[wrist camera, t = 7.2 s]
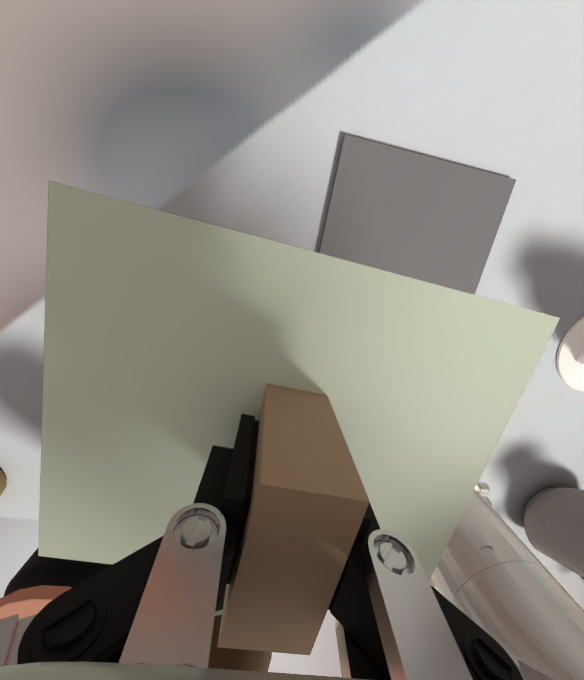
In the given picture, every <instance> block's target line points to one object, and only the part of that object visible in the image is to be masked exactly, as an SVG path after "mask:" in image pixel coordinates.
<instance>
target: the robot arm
mask: <svg viewBox="0 0 584 680" xmlns="http://www.w3.org/2000/svg"><path fill="white" fill-rule="evenodd" d="M258 428H259V421H257V420H255V416H251V415H246V414H241V418H240V423H239V427H238V431H237V436H236V440H235V445H234V449H233V448H227V447H221V446H215V445H213V446H212V449H211V452H210V455H209V458H208V461H207V464H206V467H205V470H204V473H203V476H202V479H201V482H200V485H199V488H198V491H197V493H196V496H195V499H194V502H193V504H190V505H187V506H185V507H183V508H181V509H179V510H178V511H177V512H176V513H175V514H174V515H173V516H172V518H171V519H170V521H169V523H168V525H167V528H166V531H165V534H164V535H163V536H162V537H160V538H158V539H156V540H155V541H153V542H151V543H149V544H148V545H146V546H144V547H142V548H141V549H139V550H137V551H135V552H134V553H132V554H130V555H128V556H127V557H125V558H123V559H122V560H120V561H118V562H116V563H115V564H113V565H111V566H109V567H108V568H106V569H104V570H102V571H101V572H99V573H97V574H95V575H94V576H92V577H90V578H88V579H87V580H85V581H83V582H81V583H80V584H78V585H76V586H74V587H73V588H71V589H69V590H67V591H66V592H64V593H62V594H61V595H59V596H58V597H56V598H55V599H54V600H52V601H51V602H49V603H48V604H47V605H46V606H45V607H44V608H43V609H42V610H41V611H40V612H39V613H38V614H35V615H32V616H28V617H25V618H22V619H19V614H16V615H13V616H9V617H6V618H3V619H0V680H584V610H583V609H582V608H581V607H580V606H579V605H578V604H577V603H576V602H575V600H574V599H573V598H572V597H571V596H570V595H569V594H568V593H567V591H566V590H565V589H564V588H563V587H562V586H561V585H560V584H559V583H558V581H557V580H556V579H555V578H554V577H553V576H552V575H551V574H550V572H549V571H548V570H547V569H546V568H545V567H544V566H543V565H542V563H541V562H540V561H539V560H538V559H537V558H536V557H535V556H534V554H533V553H532V552H531V551H530V550H529V549H528V548H527V547H526V545H525V544H524V543H523V542H522V541H521V540H520V539H519V538H518V536H517V535H516V534H515V533H514V532H513V531H512V530H511V529H510V527H509V526H508V525H507V524H506V523H505V522H504V521H503V520H502V518H501V517H500V516H499V515H498V514H497V513H496V512H495V511H494V509H493V508H492V503H491V501H490V499H489V498H488V497H485V496H481V495H480V494H479V493H482V494H488V493H489V486H488V485H487V484H486V483H482V482H478V484H477V486H476V488H475V490H474V492H473V494H472V496H471V498H470V500H469V502H468V504H467V506H466V508H465V510H464V512H463V514H462V516H461V518H460V520H459V522H458V524H457V526H456V528H455V530H454V532H453V534H452V536H451V538H450V540H449V542H448V544H447V546H446V548H445V550H444V552H443V554H442V556H441V558H440V560H439V562H438V564H437V566H436V568H435V570H434V572H433V574H432V576H431V578H432V580H433V581H434V584H435V586H436V588H437V590H438V591H437V590H436V589H435V588H433V587H432V586H431V585H430V584H429V581H428V579H427V577H426V574H425V572H424V570H423V568H422V566H421V563H420V561H419V559H418V557H417V555H416V554H415V552H414V550H413V549H412V548H411V547H410V545H409V544H408V543H407V542H406V541H405V540H403V539H402V538H401V537H400V536H398V535H396V534H395V533H393V532H390V531H387V530H381V529H380V527H379V524H378V522H377V519H376V516H375V514H374V511H373V509H372V506H371V504H370V502H369V505H368V507H367V510H366V512H365V515H364V518H363V520H362V523H361V525H360V528H359V530H358V533H357V536H356V538H355V541H354V543H353V546H352V548H351V551H350V553H349V556H348V559H347V561H346V564H345V566H344V569H343V571H342V574H341V577H340V579H339V582H338V584H337V587H336V589H335V592H334V594H333V597H332V600H331V602H330V605H329V607H328V610H330V612H331V614H332V615H333V616H334V617H335V618H336V635H337V642H338V650H339V658H340V665H341V672H342V678H340V677H326V676H313V675H300V674H286V673H271V672H258V671H243V670H228V669H214V668H208V662H209V654H210V647H211V639H212V632H213V624H214V617H215V609H216V606H217V605H218V604H219V603H220V602H221V601H222V599H223V595H224V591H225V587H226V584H230V582H231V578H232V574H233V570H234V566H235V563H236V559H237V555H238V551H239V547H240V543H241V540H242V536H243V532H244V528H245V524H246V520H247V517H248V513H249V509H250V504H251V498H252V490H253V480H254V470H255V459H256V449H257V438H258Z"/></svg>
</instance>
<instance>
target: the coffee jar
mask: <svg viewBox="0 0 584 680" xmlns="http://www.w3.org/2000/svg"><path fill="white" fill-rule="evenodd" d="M111 565H112V564H103V563H95V562H86V561H77V560H69V559H60V558H51V557H43V556H38V549H37V550H36V551H35V552H34V553H33V555H32V556H31V557H30V558H29V559H28V561H27V562H26V563H25V564H24V565H23V567H22V568H21V569H20V570H19V571H18V573H17V574H16V575H15V576H14V578H13V579H12V580H11V581H10V583H9V585H8V586H7V589H6V591H5V594H4V597H2V598H0V619H3V618H6V617H9V616H13V615H16V614H19V619H22V618H25V617H28V616H32V615H35V614H38V613H39V612H40V611H41V610H42V609H43V608H44V607H45V606H46V605H47V604H48V603H49V602H51V601H52V600H54V599H55V598H56V597H58V596H59V595H61V594H62V593H64V592H66V591H67V590H69V589H71V588H73V587H74V586H76V585H78V584H80V583H81V582H83V581H85V580H87V579H88V578H90V577H92V576H94V575H95V574H97V573H99V572H101V571H102V570H104V569H106V568H108V567H109V566H111Z"/></svg>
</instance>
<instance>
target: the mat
mask: <svg viewBox="0 0 584 680" xmlns="http://www.w3.org/2000/svg"><path fill="white" fill-rule="evenodd" d="M515 182H516V180H515V179H512V178H508V177H504V176H500V175H497V174H493V173H489V172H485V171H482V170H478V169H474V168H470V167H467V166H463V165H459V164H455V163H451V162H448V161H444V160H440V159H436V158H433V157H429V156H425V155H421V154H418V153H414V152H410V151H406V150H403V149H399V148H395V147H391V146H388V145H384V144H380V143H376V142H372V141H369V140H365V139H361V138H357V137H354V136H350V135H346V134H345V135H344V138H343V142H342V147H341V152H340V156H339V161H338V166H337V170H336V175H335V180H334V184H333V189H332V194H331V198H330V203H329V208H328V212H327V217H326V222H325V226H324V231H323V236H322V240H321V245H320V250H319V253H320V254H324V255H328V256H332V257H335V258H339V259H343V260H347V261H350V262H354V263H358V264H361V265H365V266H369V267H373V268H376V269H380V270H384V271H387V272H391V273H395V274H399V275H402V276H406V277H410V278H414V279H417V280H421V281H425V282H428V283H432V284H436V285H440V286H443V287H447V288H451V289H454V290H458V291H462V292H466V293H469V294H473V295H474V294H475V292H476V289H477V286H478V283H479V281H480V278H481V275H482V272H483V270H484V267H485V264H486V261H487V259H488V256H489V253H490V250H491V248H492V245H493V242H494V239H495V237H496V234H497V231H498V228H499V226H500V223H501V220H502V217H503V215H504V212H505V209H506V206H507V204H508V201H509V198H510V195H511V193H512V190H513V187H514V184H515Z"/></svg>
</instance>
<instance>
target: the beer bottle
mask: <svg viewBox="0 0 584 680" xmlns="http://www.w3.org/2000/svg"><path fill="white" fill-rule="evenodd" d="M226 585H227V584H226ZM225 592H226V587H225V591H224V595H223V599H222V601H221V602H220V603H219V604H218V605H217V606H216V609H215V617H214V624H213V632H212V639H211V647H210V654H209V662H208V668H214V669H228V670H243V671H258V672H268V668H269V664H270V660H271V656H272V655H271V654H272V652H267V651H255V650H243V649H231V648H220V647H217V646H218V639H219V632H220V625H221V619H222V612H223V605H224V598H225Z"/></svg>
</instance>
